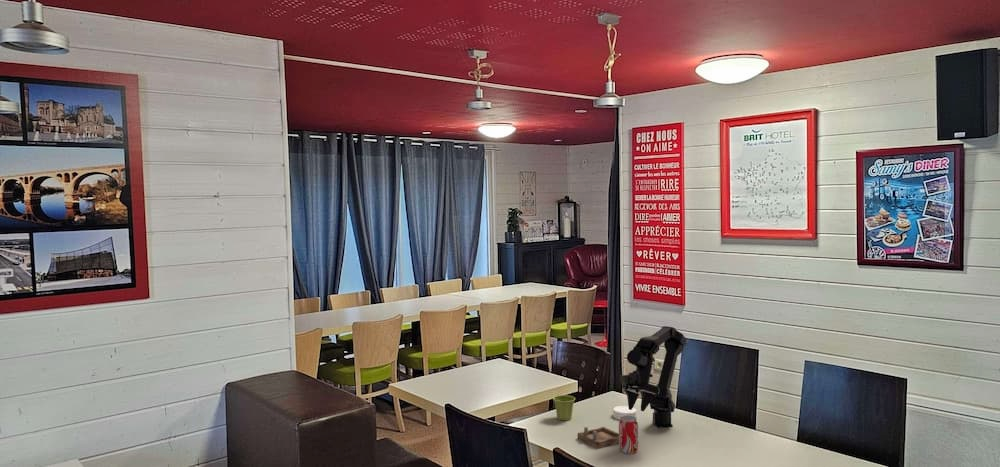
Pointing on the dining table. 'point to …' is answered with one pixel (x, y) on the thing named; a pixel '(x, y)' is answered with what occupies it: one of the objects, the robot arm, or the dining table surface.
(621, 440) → the soda can
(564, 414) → the plant pot
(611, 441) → the caddy
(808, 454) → the dining table surface
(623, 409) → the coaster
